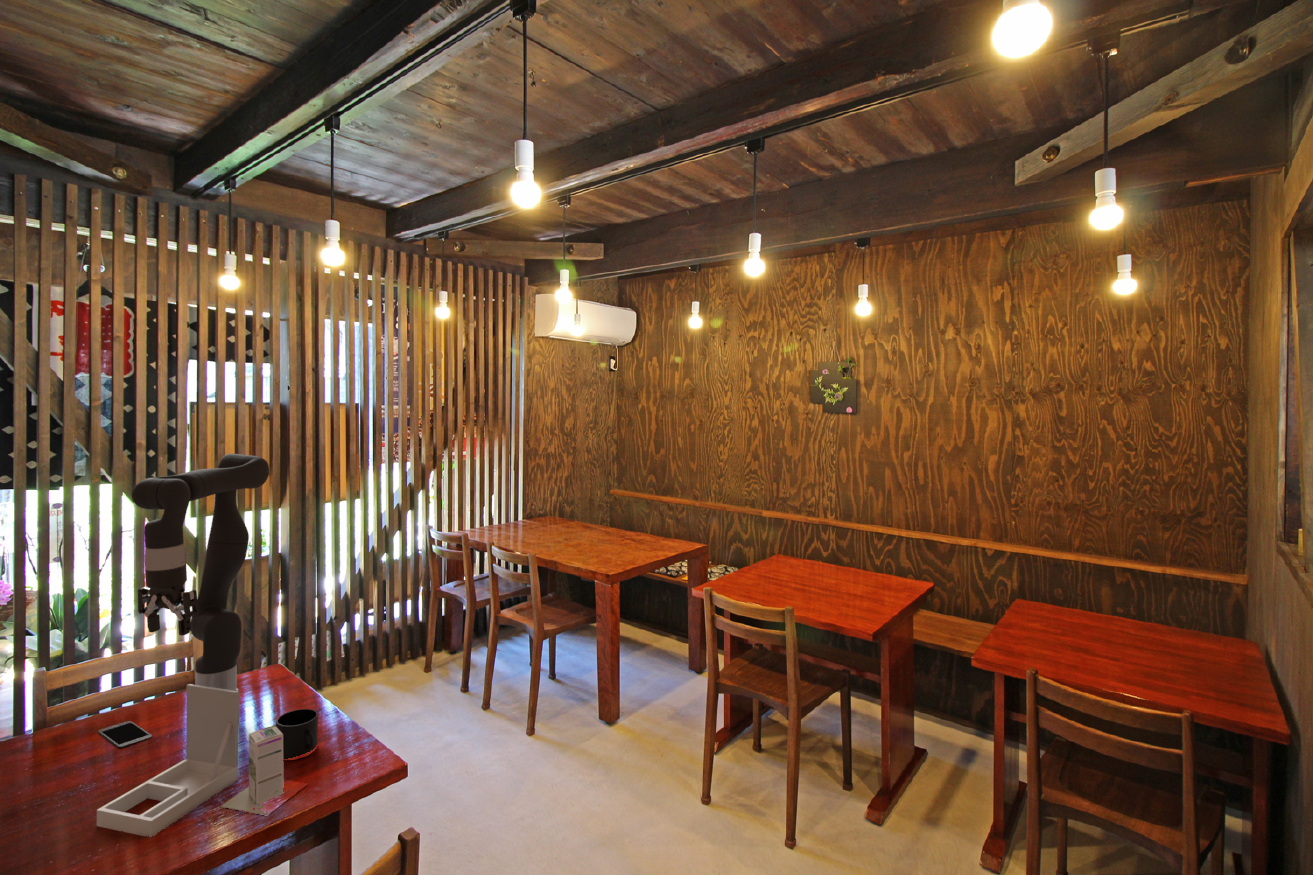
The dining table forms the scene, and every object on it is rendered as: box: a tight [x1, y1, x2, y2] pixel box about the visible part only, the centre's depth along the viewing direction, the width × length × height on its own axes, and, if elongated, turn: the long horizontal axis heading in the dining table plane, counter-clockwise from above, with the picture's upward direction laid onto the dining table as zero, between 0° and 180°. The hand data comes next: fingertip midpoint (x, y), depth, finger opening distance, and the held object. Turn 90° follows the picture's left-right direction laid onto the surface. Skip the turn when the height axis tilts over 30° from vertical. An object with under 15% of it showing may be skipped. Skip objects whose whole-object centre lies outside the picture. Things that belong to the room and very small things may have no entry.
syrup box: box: [248, 725, 285, 805], centre depth 143 cm, size 6×6×14 cm
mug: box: [275, 708, 319, 759], centre depth 161 cm, size 9×12×9 cm
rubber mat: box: [220, 786, 268, 815], centre depth 144 cm, size 12×12×1 cm
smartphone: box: [97, 720, 153, 749], centre depth 167 cm, size 7×15×1 cm, turn 59°
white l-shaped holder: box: [96, 683, 240, 838], centre depth 140 cm, size 21×14×22 cm
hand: (169, 632), depth 146 cm, fingers open, 8 cm apart
